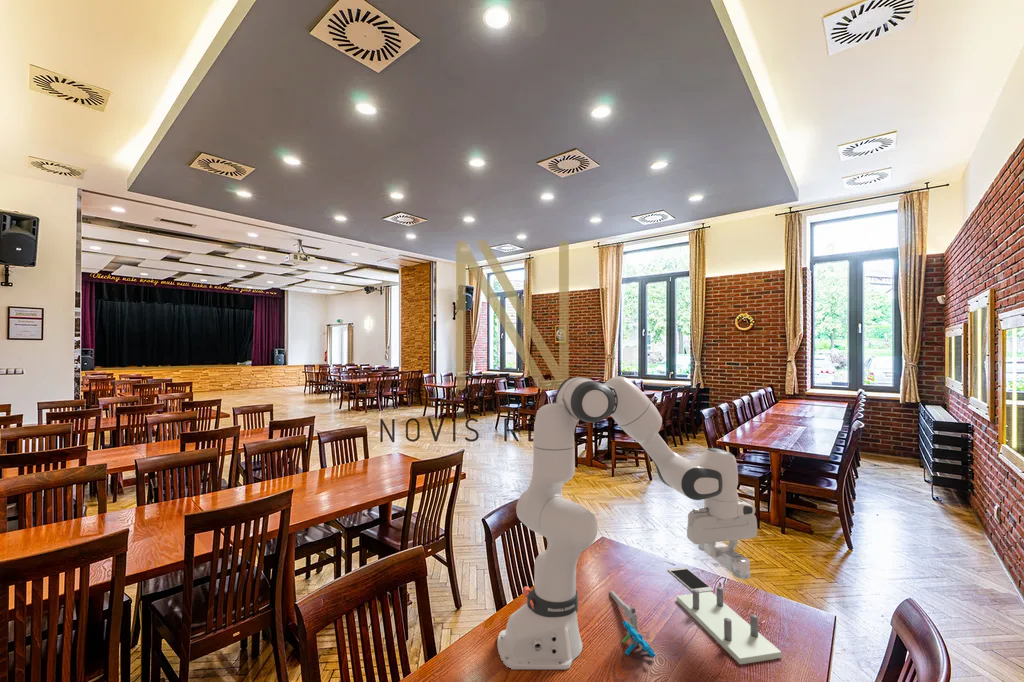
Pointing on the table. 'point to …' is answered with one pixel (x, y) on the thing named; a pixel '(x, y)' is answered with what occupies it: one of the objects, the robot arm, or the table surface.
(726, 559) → the grey dumbbell
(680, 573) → the smartphone
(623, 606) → the caliper
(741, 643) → the board
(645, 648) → the gear
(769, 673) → the table surface
